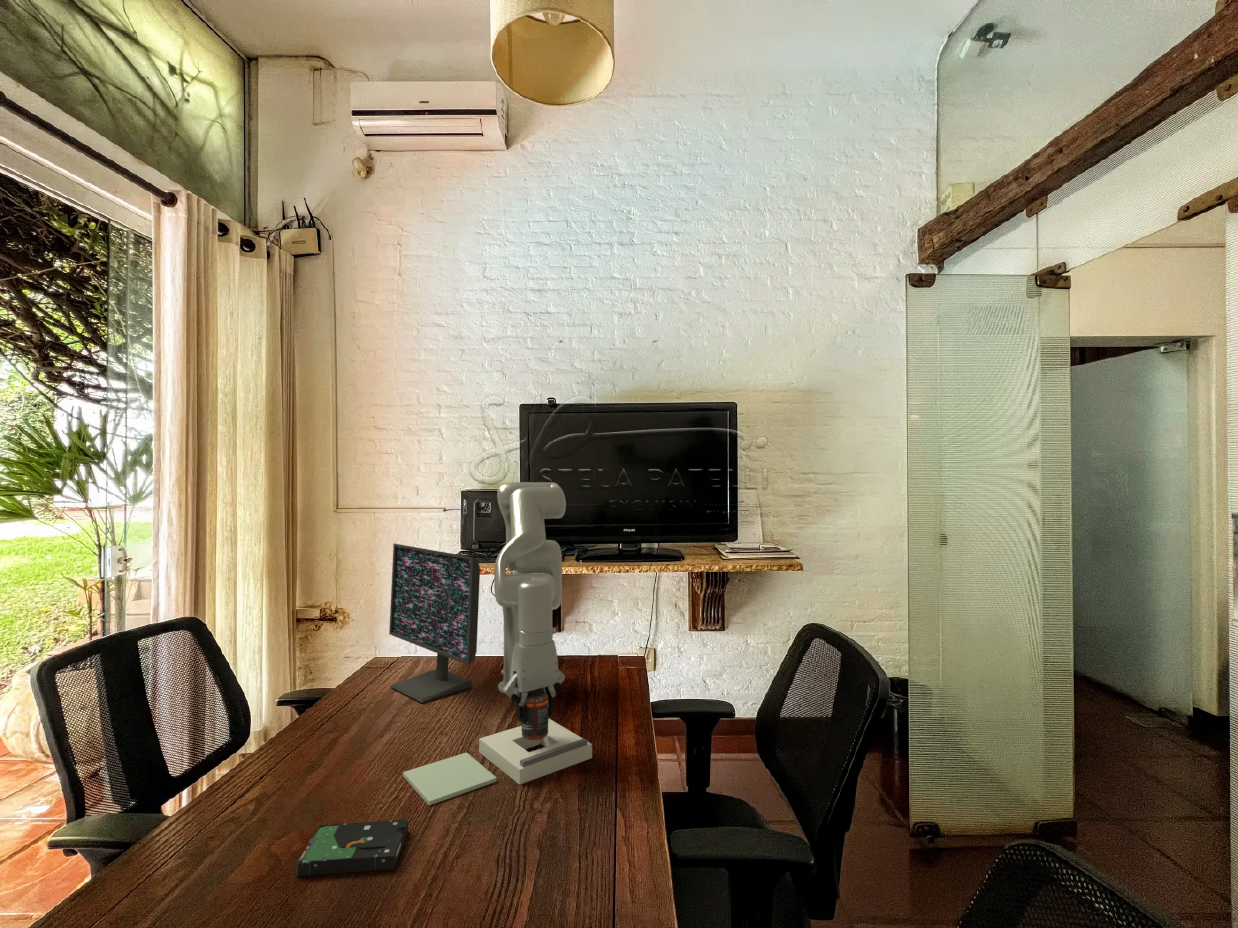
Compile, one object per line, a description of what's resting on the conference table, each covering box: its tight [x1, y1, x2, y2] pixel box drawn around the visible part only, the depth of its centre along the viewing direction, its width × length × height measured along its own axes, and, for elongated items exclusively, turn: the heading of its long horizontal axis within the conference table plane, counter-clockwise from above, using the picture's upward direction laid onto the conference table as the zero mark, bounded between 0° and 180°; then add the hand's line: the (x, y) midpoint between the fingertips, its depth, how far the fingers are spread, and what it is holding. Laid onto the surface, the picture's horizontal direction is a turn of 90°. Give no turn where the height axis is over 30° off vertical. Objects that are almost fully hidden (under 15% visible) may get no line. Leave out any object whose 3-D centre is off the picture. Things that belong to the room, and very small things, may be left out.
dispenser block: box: [478, 717, 593, 785], centre depth 134 cm, size 18×18×4 cm
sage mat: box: [402, 752, 498, 806], centre depth 123 cm, size 14×14×1 cm
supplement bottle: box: [521, 688, 549, 740], centre depth 134 cm, size 6×6×11 cm
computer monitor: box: [388, 543, 481, 704], centre depth 175 cm, size 44×16×40 cm, turn 47°
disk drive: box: [295, 818, 409, 877], centre depth 100 cm, size 10×3×15 cm
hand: (534, 716), depth 134 cm, fingers closed on supplement bottle, 6 cm apart
